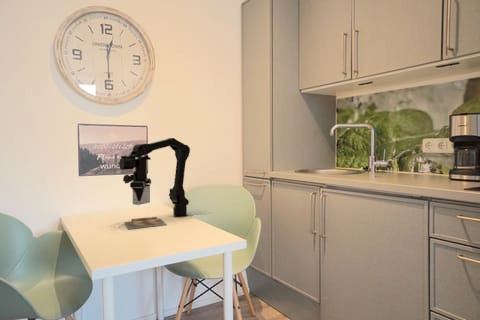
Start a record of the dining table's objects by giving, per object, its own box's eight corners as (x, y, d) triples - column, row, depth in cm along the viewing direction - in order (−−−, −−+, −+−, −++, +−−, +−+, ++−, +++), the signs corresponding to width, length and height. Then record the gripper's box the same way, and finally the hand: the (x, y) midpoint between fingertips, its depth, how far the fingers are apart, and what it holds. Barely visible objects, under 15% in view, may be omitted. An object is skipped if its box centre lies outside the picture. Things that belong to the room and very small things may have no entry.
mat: (160, 219, 174) (160, 218, 174) (167, 226, 159) (167, 224, 159) (124, 223, 166) (124, 221, 166) (128, 229, 152) (128, 228, 152)
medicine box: (143, 202, 170) (143, 185, 170) (150, 202, 168) (150, 186, 168) (132, 204, 163) (132, 187, 163) (138, 205, 161) (138, 187, 161)
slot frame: (156, 220, 169) (156, 216, 169) (159, 223, 162) (159, 219, 162) (131, 222, 164) (131, 218, 164) (133, 226, 156) (133, 222, 156)
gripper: (130, 168, 174) (130, 197, 175) (118, 170, 156) (119, 202, 156) (151, 167, 175) (151, 196, 175) (142, 170, 156) (143, 202, 157)
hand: (141, 199), depth 166 cm, fingers closed on medicine box, 9 cm apart
